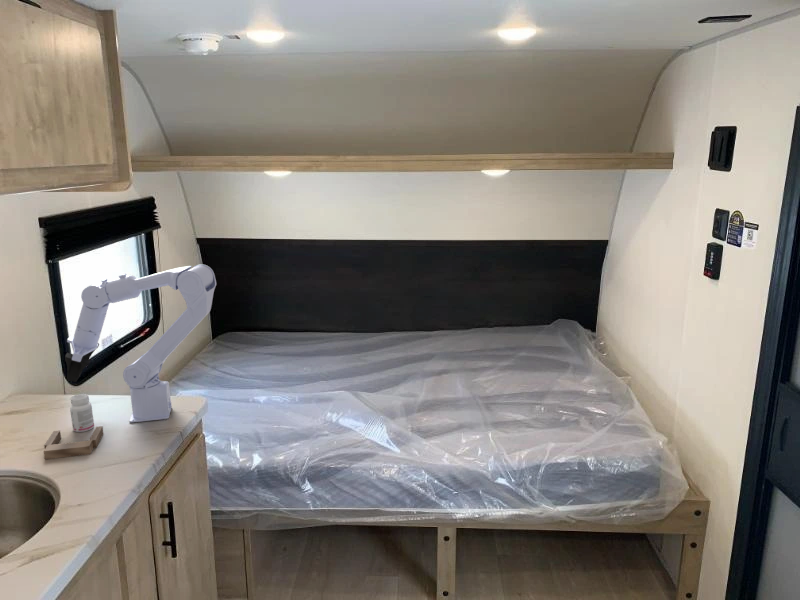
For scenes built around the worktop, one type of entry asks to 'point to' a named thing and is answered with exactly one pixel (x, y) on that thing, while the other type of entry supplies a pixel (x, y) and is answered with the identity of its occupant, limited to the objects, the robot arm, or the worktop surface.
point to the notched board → (71, 445)
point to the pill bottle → (81, 413)
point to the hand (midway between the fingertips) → (76, 373)
